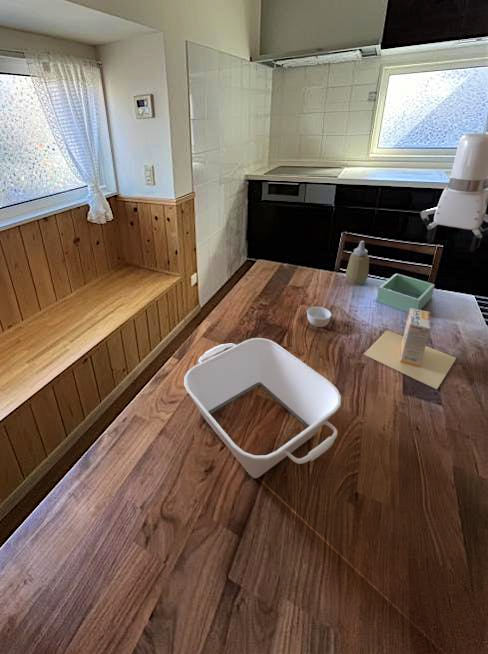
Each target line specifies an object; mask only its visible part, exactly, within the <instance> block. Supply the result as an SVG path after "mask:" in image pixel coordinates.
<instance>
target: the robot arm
mask: <svg viewBox="0 0 488 654" xmlns="http://www.w3.org/2000/svg"><path fill="white" fill-rule="evenodd" d="M458 140H459V141H458V144H457V148H456V152H455V156H454V160H453V164H452V169H451V173H450V177H449V181H448V185H447V186H446V187H444V189H443V191H442V193H441V195H440V198H439V201H438V203H437V206H436V207H433V208H430V209H426V210H422V211H420V213H419V215H420V217H421V220H422V223H423V224H424V225H425V226H426V229H427V233H426V237H425V239H427V243H428V244H431V243H432V242H433V241H434V240H435V236H436V231H437V226H445V227H449V228H455V229H456V228H457V229H463V230H469V231H472V233H473V234H474V236H473V238H472V241H471V244H470V248H469V252H471V253H473V252H474V251H475V250H476V249H479V247H480V245H481V241H482V239H483V237H485V236H486V237H487V236H488V227H487V228H484V229H483V228H482V227H481V226H482V224H483V223H484V222H485V223H487V224H488V214H487V213H486V212H487V207H488V131H487V132H485V133H468V134H464V135H462V136H461V138H460V139H458ZM433 214H434V216H433V221H432V220H431V219H430V218H429V215H433Z"/></svg>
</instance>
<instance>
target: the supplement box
mask: <svg viewBox="0 0 488 654" xmlns="http://www.w3.org/2000/svg"><path fill="white" fill-rule="evenodd" d="M431 327H432V326H431V312H430V311H426V310H422V309H421V310H417V309H412V308H410V311H409V312H408V315H407V319H406V322H405V326H404V331H403V335H402V336H403V339H402V343H401V359H400V362H402V363H406V364H409V365H413V366H417V367H420V364H421V361H422V357H423V353H424V350H425V347H426V346H427V343H428V339H429V337H430V333H431Z"/></svg>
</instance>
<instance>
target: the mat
mask: <svg viewBox="0 0 488 654" xmlns="http://www.w3.org/2000/svg"><path fill="white" fill-rule="evenodd" d="M402 339H403V335H401V334H398V333H396V332H393V331H391V330H388V329H386V330H385V331H384V332H383V333H382V334H381V335H380V337H378V338H377V340H376V341H374V343H373V344H371V346H370V347H369V348H368V349H366V351H365V352H364V353H363V356H365V357H367V358H370V359H372V360H373V361H376V362H378V363H380V364H383V365H385V366H387V367H389V368H390V369H393V370H395V371H397V372H399V373H401V374H403V375H405V376H408V377H410V378H412V379H414V380H416V381H417V382H420V383H422V384H424V385H425V386H426V385H427V386H429V387H430V388H433V389H434V390H438V389H439V387H440V386H441V384H442V382H443V381H444V379H445V378H446V376H447V374H448V373H449V371H450V370H451V368H452V366H453V365H454V363H455V361H456V360H457V357H455V356H453V355H451V354H448V353H445V352H443V351H440V350H437V349H435V348H433V347H430V346H428V345H426V347H425V350H424V353H423V357H422V361H421V364H420V367H417V366H413V365H409V364H406V363H402V362H400V359H401V343H402Z"/></svg>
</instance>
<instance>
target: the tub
mask: <svg viewBox="0 0 488 654" xmlns="http://www.w3.org/2000/svg"><path fill="white" fill-rule="evenodd" d="M225 349H226V350H225ZM183 386H184V388H185V390H186V392H187V393H188V395H189V396H190V397H191V399H192V401H193V402H194V404H195V405H196V408H197V409H198V411H199V412H200V413H201V415H202V417H203V418H204V420H205V421H206V422H207V424H208V425H209V427H211V429H212V430H213V431H214V432H215V434H216V435H217V437H218V438H219V439H220V440H221V442H223V444H224V445H225V446H226V447H227V449H228V450H229V451H230V452H231V454H232V455H233V456H234V458H236V460H237V461H238V463H240V465H241V466H242V467H243V469H244V470H245V471H246V472H247V473H248V475H249V476H250V477H251V478H252V479H258V478H260V477H261V476H263V475H264V474H265V473H266V472H268V471H269V470H271V469H272V468H273V467H275V466H276V465H278V464H279V463H280V462H281V461H282V460H284V459H285V458H286V457H288V458H289V459H290V460H291V461H292V462H294V463H296V464H298V465H300V464H302V465H303V464H305V463H308V462H309V461H310V462H312V461H314V460H316V459H317V458H319V457H321V455H323V454H324V453H325V452H327V451H328V450H329V449H330V448H331V447H332V446H333V444H334V443H335V441H336V439H337V437H338V429H337V428H336V427H335V426H334V425H333V424H332V423H331V422H329V421H328V420H329V419H330V418H331V417H332V416H333V415H335V414H336V413H337V411H338V410H339V408H341V406H342V395H341V394H340V392H339V390H338V388H337V387H336V386H335V385H334V384H333V383H332V382H331V381H329V380H328V379H327V378H325V377H324V376H322V374H320V373H318V372H317V371H316V370H315V369H313V368H312V367H310V366H309V365H307V364H306V363H304V362H303V361H302V360H301V359H300V358H297V356H295V355H293V354H292V353H291V352H289V351H288V350H286V349H285V348H283V347H282V346H281V345H280V344H278V343H277V342H275V341H273V340H272V339H268V338H264V337H252V338H249V339H246V340H244V341H242V342H239V343H237V344H236V343H232V342H230V343H222V344H219V345H217V346H214V347H212V348H210V349H208V350H206V351H204V353H203V354H202V355H201V356H200V357H199V358H198V363H197V364H195V365H193V367H190V369H188V370H187V372H186V374H185V375H184V377H183ZM256 387H261V388H262V389H264V391H265V392H266V393H268V394H269V395H270V396H271V397H272V398H273V399H274V400H275V401H277V402H278V403H279V404H280V405H281V406H282V407H283V408H284V409H286V410H287V412H289V413H290V414H291V415H292V416H293V417H295V419H296V420H298V421H299V422H300V423H301V424H302V425H303V426H304V427H305V428H306V429H304V430H303V431H301V432H300V433H298V434H297V435H296V436H295V437H293V438H291V439H290V440H289V441H288V442H286V443H284V444H282V446H280V447H279V448H278V449H277V450H275V451H273V452H270V453H268V454H266V455H264V454H263V455H254V454H252V453H249V452H247V451H244V450H243V449H241V448H240V447H239V446H238V445H237V444H236V443H235V442H234V441H233V440H232V439H231V437H230V436H229V435H228V434H227V433H226V430H224V429H223V427H222V426H221V425H220V424H219V423H218V422H217V421H216V419H215V418H214V417H213V416H212V415H211V414H213V413H215V412H216V411H218V410H219V409H221V408H223V407H225V406H226V405H228V404H230V403H232V402H233V401H235V400H236V399H239V397H242V396H244V395H245V394H247V393H248V392H250V391H251V390H254V389H255V388H256ZM325 425H326V426H327V427H328V428H330V430H332V435H331V436H330V435H328V437H327V438H326V439H325V440H323V441H322V442H321V443H320V444H318V445H317V446H316V447H314V448H312V449H311V450H310V451H308V453H307V455H304V456H302V457H300V458H298V457H296V456H294V454H293V452H294V451H296V450H297V449H298V448H300V447H301V446H302V445H303V444H305V443H306V442H308V441H309V440H311V438H313V437H314V436H315V435H316V434H317V433H318V431H320V429H322V427H323V426H325Z"/></svg>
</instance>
